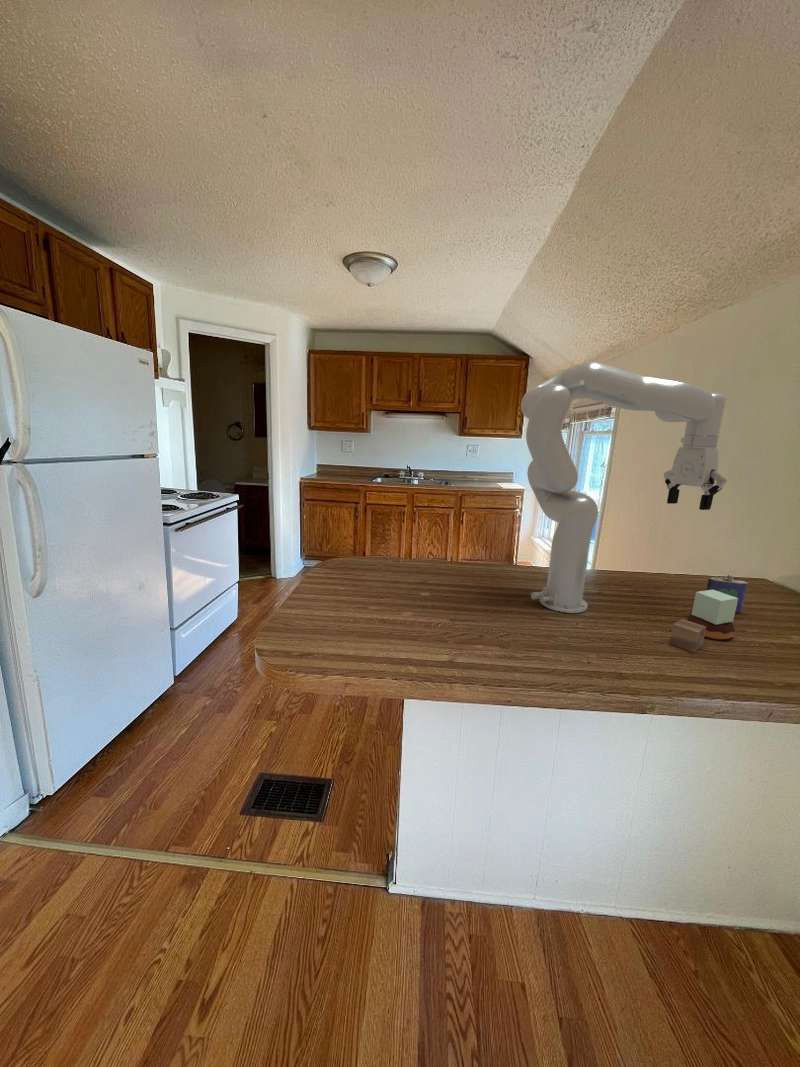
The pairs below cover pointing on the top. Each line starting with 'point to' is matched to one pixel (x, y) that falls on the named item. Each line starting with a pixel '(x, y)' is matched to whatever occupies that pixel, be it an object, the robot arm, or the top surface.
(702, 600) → the sage block
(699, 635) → the walnut block
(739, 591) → the flask
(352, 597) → the top surface
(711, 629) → the donut
